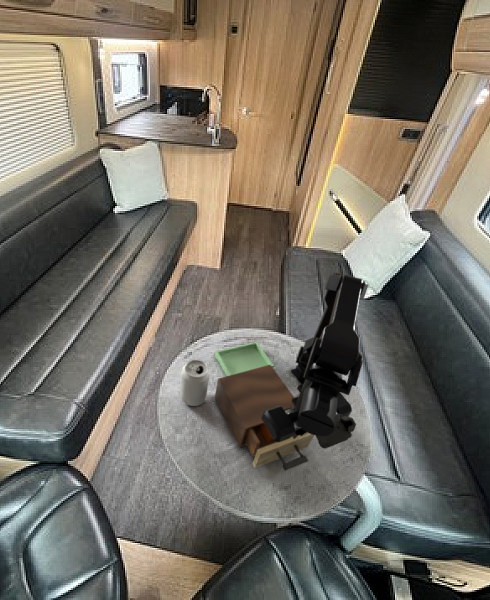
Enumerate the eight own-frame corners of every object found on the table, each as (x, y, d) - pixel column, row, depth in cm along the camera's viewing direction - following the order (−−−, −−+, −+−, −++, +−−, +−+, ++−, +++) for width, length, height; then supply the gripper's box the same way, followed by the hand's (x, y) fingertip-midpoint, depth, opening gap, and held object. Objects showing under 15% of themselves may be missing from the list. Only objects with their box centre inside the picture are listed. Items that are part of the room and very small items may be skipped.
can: (203, 410, 87) (207, 381, 80) (176, 404, 88) (178, 375, 81) (208, 389, 93) (213, 360, 86) (183, 383, 94) (186, 354, 87)
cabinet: (294, 427, 86) (302, 408, 81) (239, 447, 80) (245, 428, 75) (264, 382, 97) (270, 364, 92) (214, 397, 91) (217, 378, 86)
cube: (272, 423, 84) (275, 414, 81) (280, 437, 81) (284, 427, 79) (259, 428, 82) (262, 418, 80) (267, 442, 79) (270, 432, 77)
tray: (255, 345, 110) (256, 341, 109) (272, 369, 102) (274, 365, 100) (214, 355, 104) (215, 351, 103) (230, 381, 96) (231, 377, 95)
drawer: (318, 462, 78) (326, 449, 74) (264, 486, 72) (270, 472, 68) (276, 400, 91) (281, 386, 87) (228, 416, 85) (231, 401, 82)
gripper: (304, 443, 52) (281, 487, 61) (386, 411, 59) (354, 455, 68) (268, 390, 60) (253, 436, 69) (344, 367, 67) (321, 412, 76)
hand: (296, 435), depth 71 cm, fingers closed
